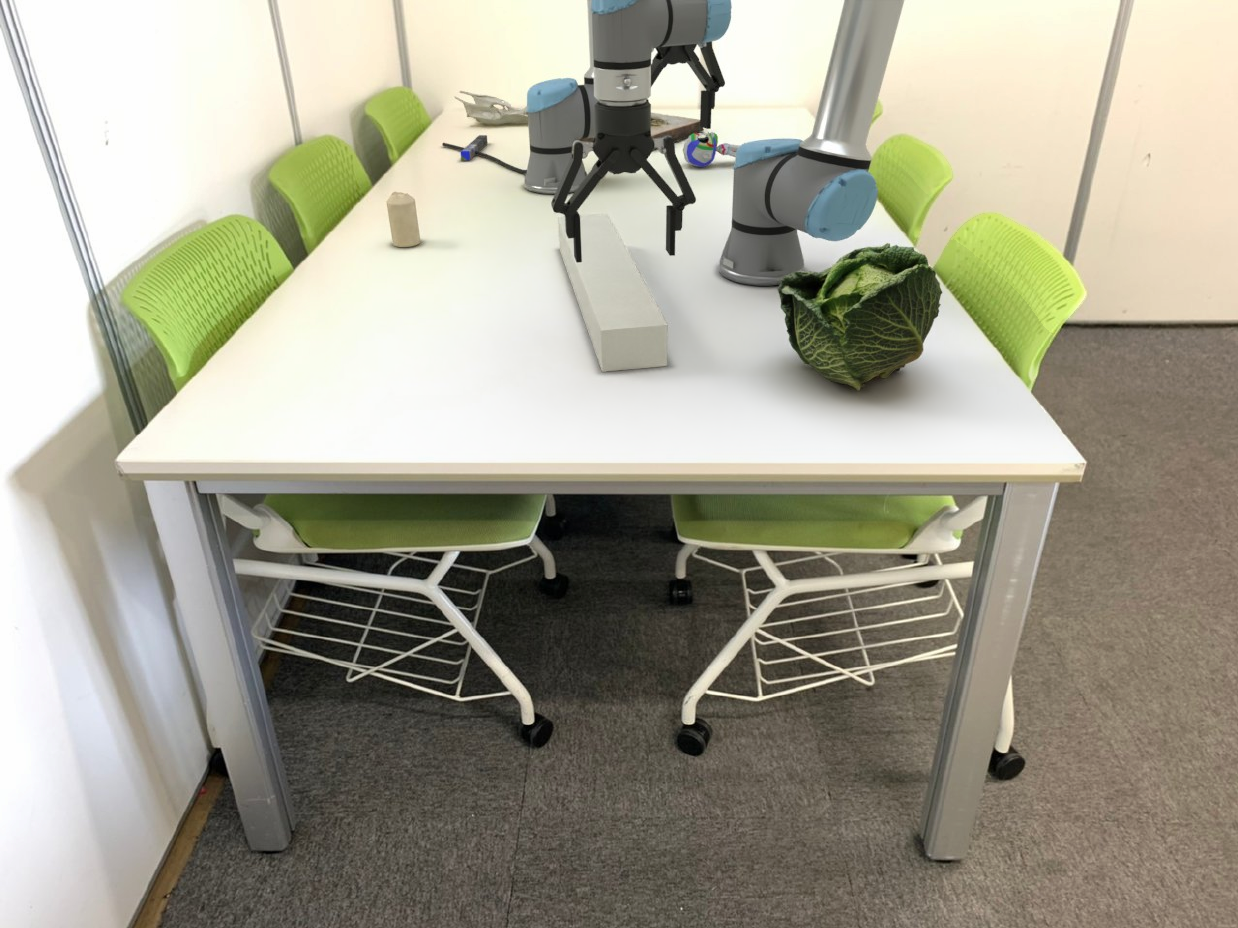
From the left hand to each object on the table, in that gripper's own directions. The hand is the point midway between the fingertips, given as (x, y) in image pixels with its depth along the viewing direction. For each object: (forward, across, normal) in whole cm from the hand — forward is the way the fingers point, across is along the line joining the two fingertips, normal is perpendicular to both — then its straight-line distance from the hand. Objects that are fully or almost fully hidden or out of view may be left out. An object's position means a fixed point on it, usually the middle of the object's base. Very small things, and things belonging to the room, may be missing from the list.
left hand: (674, 132), depth 170 cm
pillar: (+20, -10, +90) cm, 93 cm away
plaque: (+20, +36, +85) cm, 95 cm away
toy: (+20, +45, +42) cm, 65 cm away
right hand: (+7, -32, -41) cm, 53 cm away
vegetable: (+21, -8, -65) cm, 69 cm away
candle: (+20, -48, +24) cm, 58 cm away
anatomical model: (+20, +8, +122) cm, 124 cm away
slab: (+21, -26, -22) cm, 40 cm away
